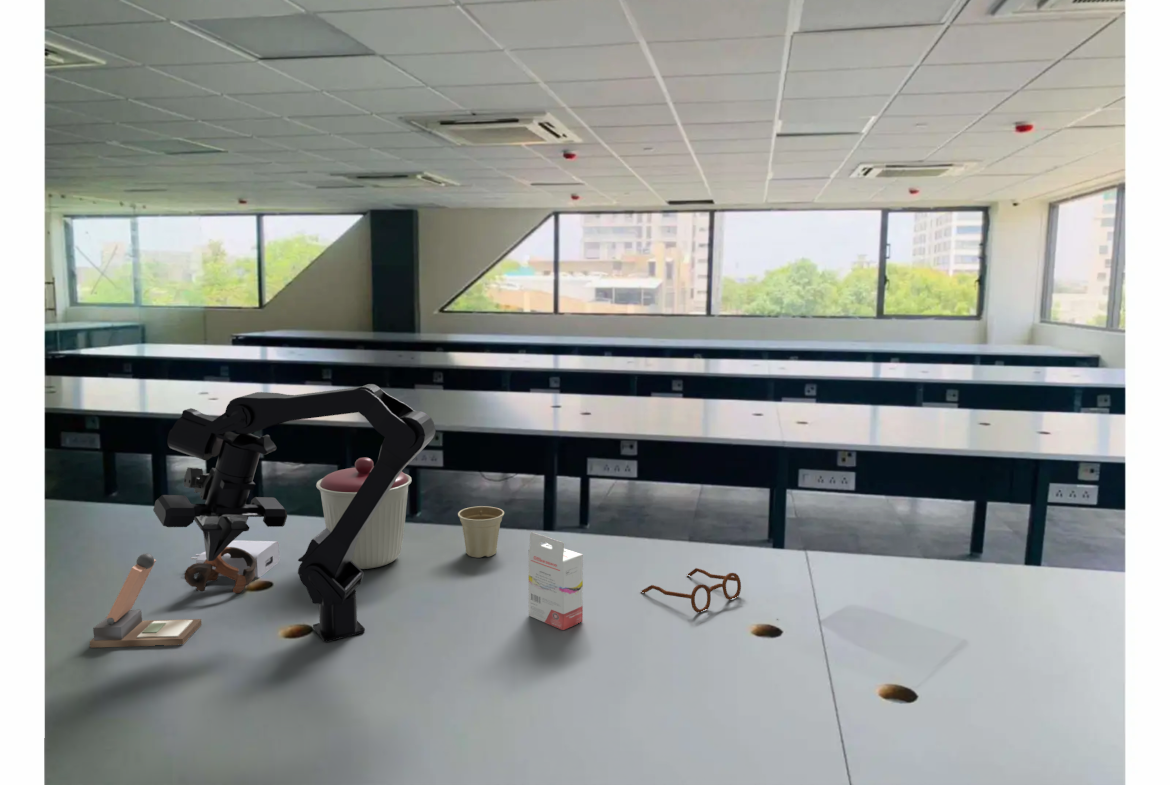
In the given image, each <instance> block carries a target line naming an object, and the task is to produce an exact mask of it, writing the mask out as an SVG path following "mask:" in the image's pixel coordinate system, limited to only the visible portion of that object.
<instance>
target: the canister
mask: <svg viewBox="0 0 1170 785" xmlns="http://www.w3.org/2000/svg"><path fill="white" fill-rule="evenodd" d="M374 466H375V465H374V461H373V459H371V458H369V457H367V456H366V457H359V458H358V459H356V461H355V462H354V467H349V468H345V469H339V470H335V471H333V472H330V473H328V474H326V475H325V476H324V477H323V478H321V479H319V480H317V481H316V484H315V486H316V488H317V490H319V492H320V497H321V505H322V511H323V517H324V523H325V529H326V528H327V529H329V530H330V531H331V532H332V531H333V529H334V527H335V526H336V524H337V523H338V521H339V520H340V518H341V517H342V515H343V514H344V512H345V510H346V509H347V507H348V506H349V504H350V503H351V501H352V500H353V498H354V497H355V495H356V493H357V492H358V490H359V489H360V487H361V486H362V484H363V483H364V481H365V480H366V478H367V476H368V475H369V473H370V472H371V470H372V469H373V467H374ZM411 483H412V477H411V476H410V475H409V474H407V473H404V472H403V470H402V471H401V473H400V474H399V476H398V477H397V479H396V480H395V482H394V484H393V485H392V487H391V488H390V490H389V491H388V493H387V494H386V496H385V497H384V499H383V500H382V502H381V503H380V505H379V506H378V508H377V510H376V511H375V513H374V514H373V516H372V517H371V519H370V520H369V522H368V523H367V525H366V526H365V528H364V529H363V531H362V532H361V534H360V535H359V537H358V539H357V543H356V547H355V551H354V554H353V556H352V559H351V561H352V562H354V563H355V564H356V565H357V566H358V567H359V568H360V569H361V570H365V569H367V570H368V569H374V568H375V569H376V568H380V567H383V566H386V565H388V564H390V563H393V562H394V561H395V560H396V559H398V557H399V556H400V554H401V552H402V547H403V541H404V533H405V525H406V515H407V503H408V491H409V485H410V484H411Z"/></svg>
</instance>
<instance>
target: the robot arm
mask: <svg viewBox="0 0 1170 785" xmlns="http://www.w3.org/2000/svg"><path fill="white" fill-rule="evenodd" d="M357 413H358V414H360V415H361V416H363V417H364V418H365V420H367V421H368V423H370V425H371V426H372V427H373V428H374V430H375V431H376V432H377V433H379V434H380V435H381V436H382V437H384V438H383V441H382V443H381V445H380V450H379V454H378V457H377V461H376V463H375V464H374V465H373V466H374V467H373V469H372V470H371V472H370V473H369V475H368V476H367V478H366V480H365V481H364V483H363V484H362V486H361V487H360V489H359V490H358V492H357V493H356V495H355V497H354V498H353V500H352V501H351V503H350V504H349V506H348V507H347V509H346V510H345V512H344V514H343V515H342V517H341V518H340V520H339V521H338V523H337V524H336V526H335V527H334V529H333V531H332V532H331V531H330V530H329V529H327V528H326V527H325V528H324V529H323V530H322V531H321V532H320V533H318V534H316V536H314V538H311V540H310V542H309V544H308V546H307V549H306V551H305V553H304V554H303V555H302V556H301V557H300V558H298V560H297V562H300V564H299V566H298V568H297V574H298V577H299V580H300V581H301V584H302V585H303V586H304V587H305V588H306V591H307V593H308V595H309V597H310V600H311V602H312V604H316V605H318V619H319V622H318V623H314V624H312V630H314V632H315V633H316V634H317V635H318V636H319V638H321V640H322V641H323V642H324V643H326V642H327V643H328V642H330V641H335V640H339V639H342V638H347V637H350V636H353V635H354V636H355V635H357V634H361V633H364V632H365V631H366V629H365V627H364V626H363V625H362V624H361V623H360V622H359V620H358V613H357V612H358V610H357V609H358V606H357V590H356V588H357V587H358V586H359V585H360V584H362V580H363V578H364V575H365V573H364V571H363V569H360V568H359V567H358V566H357V565H356V564H355V563H354V562H352V561H351V559H352V556H353V554H354V551H355V547H356V543H357V539H358V537H359V535H360V534H361V532H362V531H363V529H364V528H365V526H366V525H367V523H368V522H369V520H370V519H371V517H372V516H373V514H374V513H375V511H376V510H377V508H378V506H379V505H380V503H381V502H382V500H383V499H384V497H385V496H386V494H387V493H388V491H389V490H390V488H391V487H392V485H393V484H394V482H395V480H396V479H397V477H398V476H399V474H400V473H401V471H402V472H403V470H404V469H405V468H406V467H407V466H408V465H409V464H410V463H411V462H412V461H413V460H414V459H415V458H416V457H417V456H418V455H420V453H421V452H422V451H423V450H424V449H425V447H426V446H428V444H429V443H430V442H431V441H432V440H433V439H434V437H435V435H436V427H435V426H436V425H435V422H434V421H433V419H432V417H431V416H430V415H429V414H428V413H425V412H424V411H421V410H415V409H414V408H412V407H411V406H410V405H409V404H407V403H406V402H403V401H401V400H400V399H398V398H396V397H394V396H392V395H390V394H388V393H387V392H386V391H385V390H383V389H382V388H380V386H378V385H377V384H374V383H368V384H365V385H363V386H356V387H355V386H354V387H347V388H340V389H339V388H338V389H333V390H325V391H316V392H308V393H301V394H287V393H286V394H285V393H279V392H265V391H263V392H262V391H258V392H253V393H250V394H246V395H242V396H239V397H235V398H233V399H231V400H230V401H229V402H228V404H227V406H226V408H225V411H224V412H223V413H222V414H220V415H219V416H218V417H217V418H215V417H213V416H211V415H209V414H208V415H207V414H205V413H202V412H201V411H199V410H198V409H195V408H191V407H190V408H187V409H184V410H182V413H181V416H180V417H179V418H177V420H176V421H175V423H174V425H173V426H172V428H171V429H170V430H169V432H168V434H167V441H166V442H167V446H168V447H169V449H172V450H174V451H177V452H179V453H182V454H186V455H189V456H191V457H194V458H197V459H200V460H203V461H209V460H210V459H211V458H215V457H217V456H218V457H217V461H216V464H215V467H211V469H210V470H209V473H204V472H203V468H199V467H190V466H189V467H186V468H187V469H186V472H185V475H184V480H183V485H184V487H185V488H188V489H193V492H194V493H196V494H198V493H200V494H199V497H200V499H201V500H202V501H205V502H204V503H191V501H190V500H189V498H188V497H187V496H186V495H177V494H175V495H174V494H161V496H159V498H157V499H156V500H155V502H154V507H153V513H154V514H155V516H156V518H157V519H158V521H160V523H161V525H162V526H163V527H167V528H187V527H188V526H191V525H192V524H194V523H196V525H197V526H198V527H199V529H200V530H201V531H202V534H203V541H204V549H205V551H204V552H206V559H207V560H208V561H214V560H215V559H216V558H217V557H218V555H219V554H220V553H221V552H222V551H223V550H224V549H225V548H226V547H227V546H228V545H229V544H230V543H231V542H232V541H234V540H236V539H237V538H238V537H239V536H240V535H242V533H244V532H248V531H249V530H250V526H249V525H248V524H247V522H248V520H249V518H262V522H263V523H264V524H265V526H266V527H267V528H269V527H271V528H272V527H273V528H274V527H276V528H278V527H280V528H281V527H284V526H286V522H287V518H288V512H287V510H286V509H285V507H284V506H283V505H282V504H281V503H280V502H279V500H277V498H276V497H267V496H264V497H261V496H258V497H257V496H255V497H253V498H252V499H251V501H250V504H247V501H248V498H249V494H250V491H254V490H255V487H256V483H255V482H254V481H253V480H254V477H255V473H256V470H257V466H258V463H259V459H260V456H261V454H262V455H265V456H266V455H268V454H269V453H272V452H275V451H276V450H277V446H276V444H275V443H274V441H273V440H272V439H271V435H269V434H265V435H263V436H260V437H259V436H258V435H255V434H252V433H255V432H259V431H263V430H265V429H269V428H272V427H274V426H277V425H281V424H283V423H287V422H291V421H297V420H305V419H307V420H308V419H315V418H324V417H332V416H338V415H339V416H340V415H341V416H342V415H347V414H357ZM233 431H234V432H233Z"/></svg>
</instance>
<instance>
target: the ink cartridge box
mask: <svg viewBox="0 0 1170 785" xmlns="http://www.w3.org/2000/svg"><path fill="white" fill-rule="evenodd" d="M541 543H543V544H541ZM528 547H529V548H528V616H529V617H531V618H534V619H536V620H538V621H540V622H543V623H545V624H547V625H549V626H552V627H554V628H557V629H559V630H561V631H565V630H567V629H569V628H572V627H574V626H575V625H578V623H579V624H581V623H583V622H584V621H583V618H584V617H583V607H584V606H583V605H584V604H583V603H584V601H583V599H584V598H583V595H584V592H583V588H584V587H583V586H584V585H583V584H584V576H583V575H584V571H583V570H584V554H583V553H579V552H576V551H573V550H570V549H567V548H565V543H564V541H560V540H557V539H554V538H551V537H549V536H546V535H544V534H540V533H536V532H533V531H530V533H529V546H528ZM580 622H581V623H580Z"/></svg>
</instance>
